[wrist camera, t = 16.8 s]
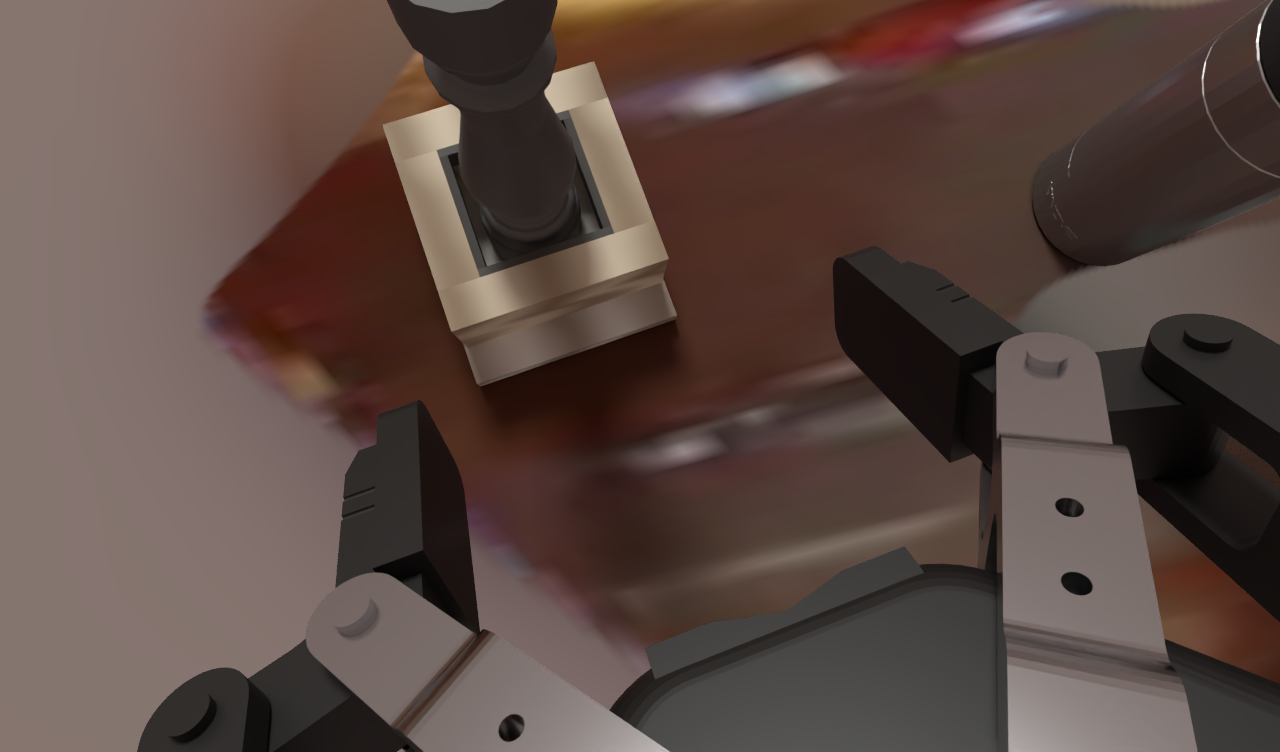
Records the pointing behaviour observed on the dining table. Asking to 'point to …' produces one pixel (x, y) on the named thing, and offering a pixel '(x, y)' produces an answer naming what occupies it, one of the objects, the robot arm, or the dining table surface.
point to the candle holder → (502, 113)
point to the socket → (549, 277)
